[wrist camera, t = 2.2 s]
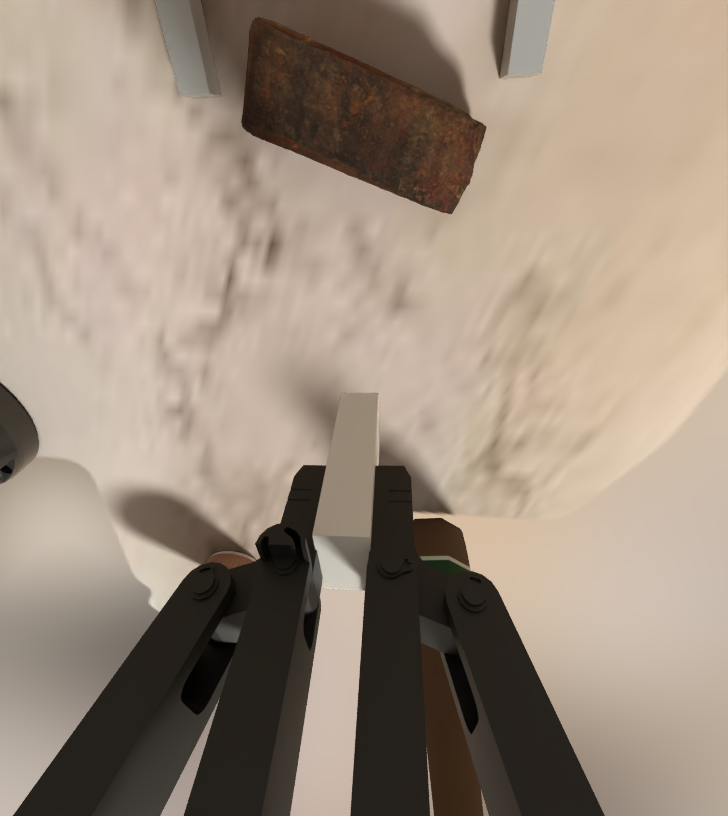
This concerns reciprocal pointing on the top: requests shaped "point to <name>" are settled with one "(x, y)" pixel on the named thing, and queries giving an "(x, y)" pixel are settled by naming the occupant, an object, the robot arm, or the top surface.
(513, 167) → the top surface
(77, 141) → the top surface
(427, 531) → the beer bottle
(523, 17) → the rails
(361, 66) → the brick
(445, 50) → the top surface
